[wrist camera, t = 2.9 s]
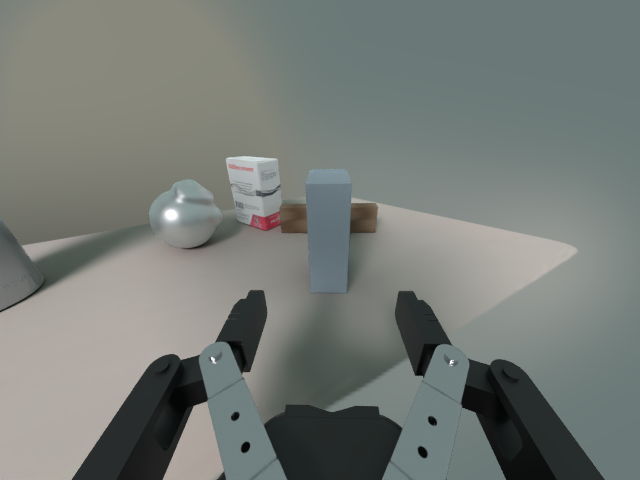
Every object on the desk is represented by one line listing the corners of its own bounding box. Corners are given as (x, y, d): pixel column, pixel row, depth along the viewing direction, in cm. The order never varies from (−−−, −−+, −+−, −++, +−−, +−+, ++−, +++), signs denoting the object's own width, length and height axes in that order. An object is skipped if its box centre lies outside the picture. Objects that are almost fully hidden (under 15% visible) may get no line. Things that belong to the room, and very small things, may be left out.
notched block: (310, 292, 25) (305, 184, 19) (313, 259, 31) (310, 169, 26) (346, 293, 25) (351, 183, 19) (342, 259, 31) (345, 169, 26)
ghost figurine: (213, 259, 32) (193, 188, 27) (147, 259, 32) (116, 189, 27) (235, 231, 40) (223, 173, 35) (182, 232, 40) (163, 174, 35)
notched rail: (281, 232, 39) (279, 207, 37) (283, 228, 41) (281, 204, 39) (375, 232, 38) (377, 207, 36) (373, 227, 40) (375, 203, 38)
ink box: (285, 222, 43) (279, 157, 38) (266, 231, 40) (256, 161, 34) (256, 213, 48) (247, 154, 42) (236, 221, 44) (223, 157, 39)
